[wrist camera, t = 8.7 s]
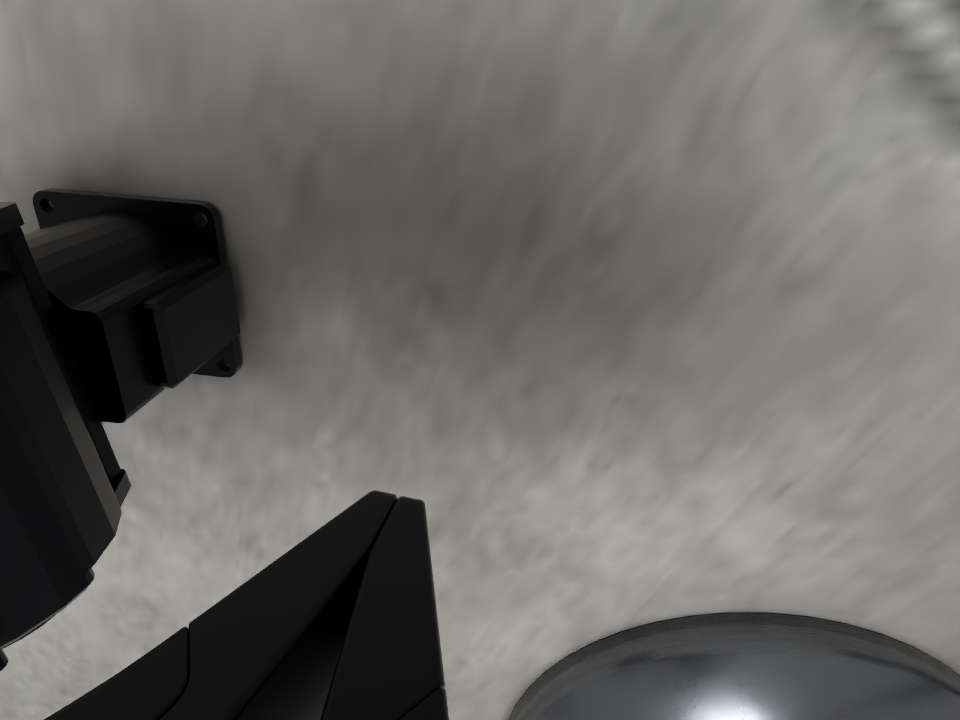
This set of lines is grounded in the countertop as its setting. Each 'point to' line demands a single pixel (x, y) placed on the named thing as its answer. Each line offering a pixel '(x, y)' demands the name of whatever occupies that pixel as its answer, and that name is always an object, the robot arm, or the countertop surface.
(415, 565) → the robot arm
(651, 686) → the turntable
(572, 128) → the countertop surface
